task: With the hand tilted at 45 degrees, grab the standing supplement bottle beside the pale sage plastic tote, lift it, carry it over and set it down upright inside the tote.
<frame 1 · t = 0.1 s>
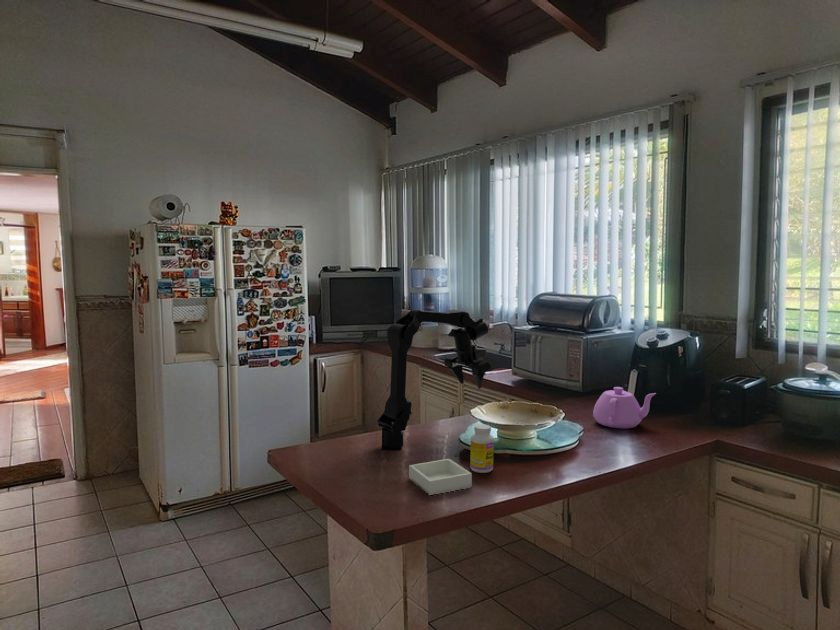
hand: (471, 385, 208), 15 cm above the counter, tool pointing down, fingers open, 9 cm apart
teapot: (623, 425, 214), on the counter
tote: (439, 483, 159), on the counter
supplement bottle: (481, 470, 169), on the counter
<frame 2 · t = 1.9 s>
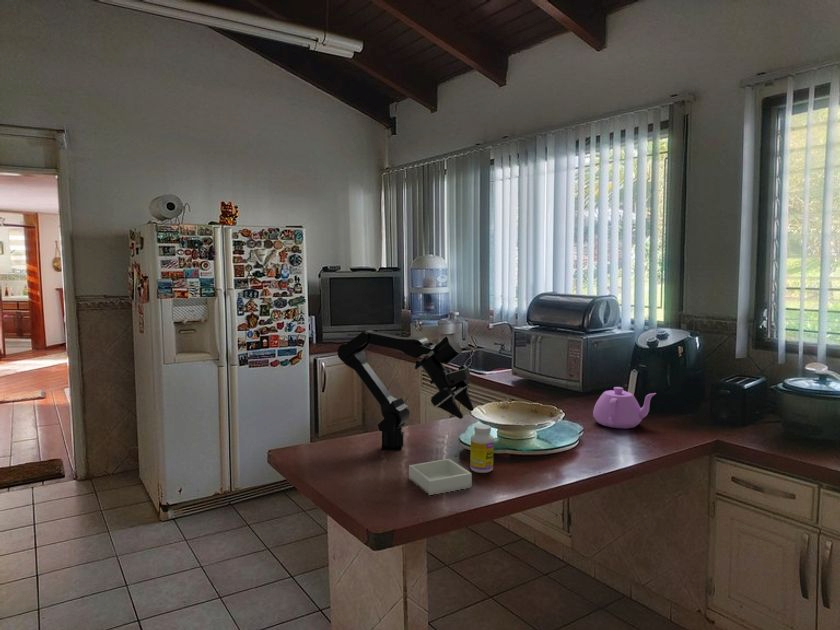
hand: (467, 414, 176), 14 cm above the counter, tool tilted 40°, fingers open, 9 cm apart
nothing on the counter moved.
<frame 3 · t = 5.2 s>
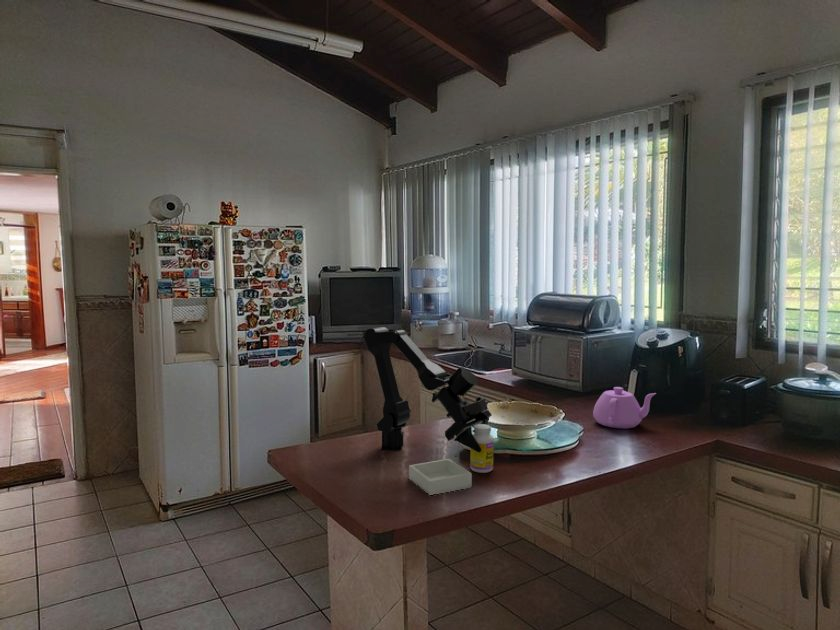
hand: (486, 448, 168), 7 cm above the counter, tool tilted 45°, fingers closed on supplement bottle, 7 cm apart
supplement bottle: (481, 470, 169), on the counter, touching gripper
everything else where it was.
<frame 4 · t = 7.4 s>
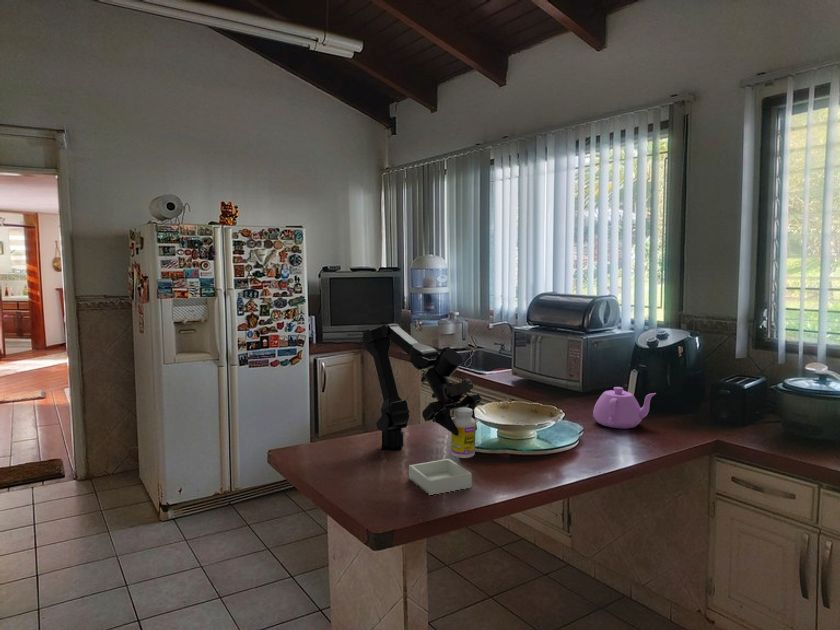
hand: (466, 432, 161), 13 cm above the counter, tool tilted 45°, fingers closed on supplement bottle, 7 cm apart
supplement bottle: (463, 455, 163), point 6 cm above the counter, touching gripper
everything else where it was.
when the fingers open (8 cm above the counter, at t = 9.7 s): supplement bottle stays where it is, resting on tote.
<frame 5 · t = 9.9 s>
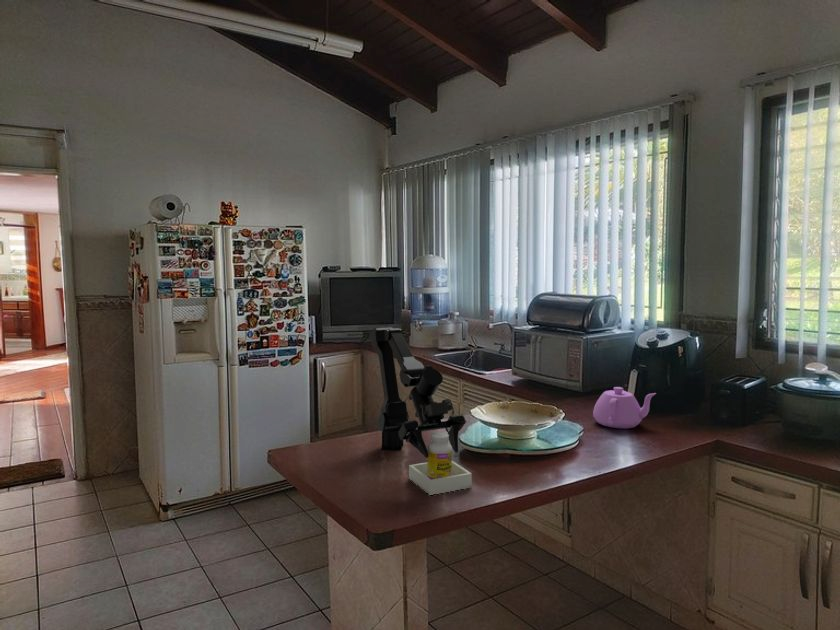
hand: (442, 454, 157), 9 cm above the counter, tool tilted 45°, fingers open, 9 cm apart
supplement bottle: (439, 480, 159), point 1 cm above the counter, touching tote
everything else where it was.
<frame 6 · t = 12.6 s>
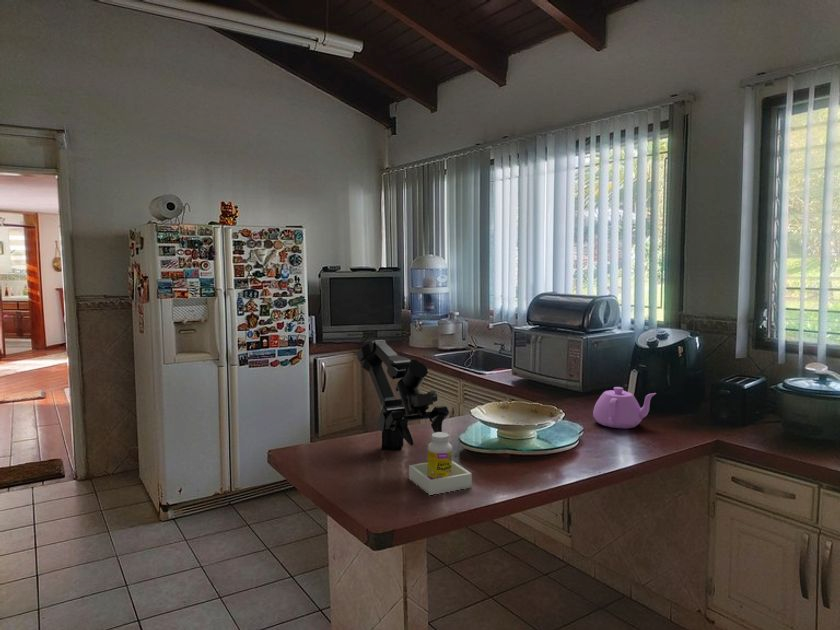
hand: (426, 443, 166), 9 cm above the counter, tool tilted 45°, fingers open, 9 cm apart
nothing on the counter moved.
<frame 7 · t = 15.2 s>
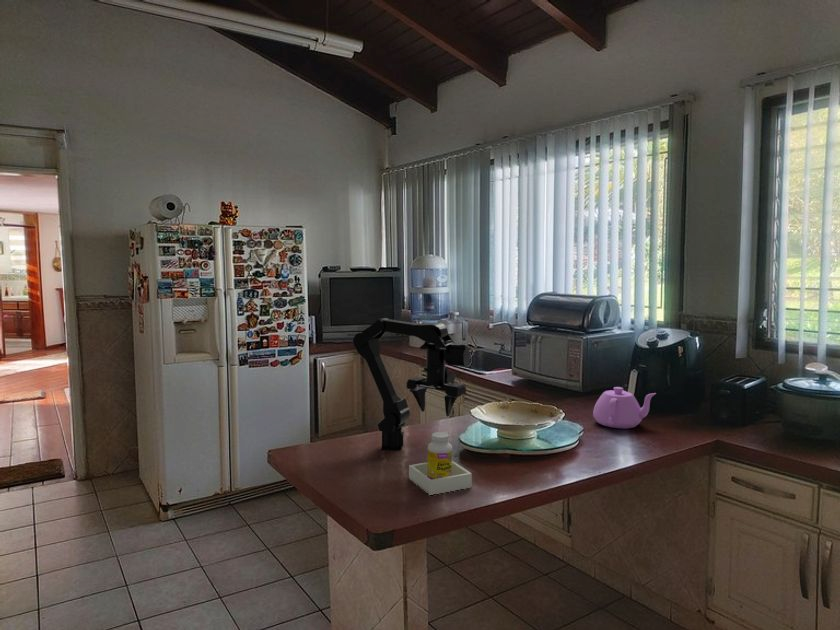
hand: (435, 413, 180), 13 cm above the counter, tool pointing down, fingers open, 9 cm apart
nothing on the counter moved.
at the end: supplement bottle inside the target area on the tote (0.2 cm from its centre), point 0.6 cm above the tote's base; supplement bottle tilted 0°; the gripper is holding nothing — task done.
